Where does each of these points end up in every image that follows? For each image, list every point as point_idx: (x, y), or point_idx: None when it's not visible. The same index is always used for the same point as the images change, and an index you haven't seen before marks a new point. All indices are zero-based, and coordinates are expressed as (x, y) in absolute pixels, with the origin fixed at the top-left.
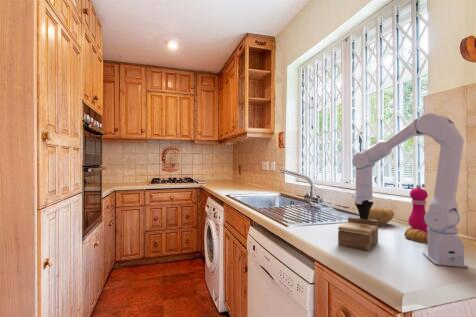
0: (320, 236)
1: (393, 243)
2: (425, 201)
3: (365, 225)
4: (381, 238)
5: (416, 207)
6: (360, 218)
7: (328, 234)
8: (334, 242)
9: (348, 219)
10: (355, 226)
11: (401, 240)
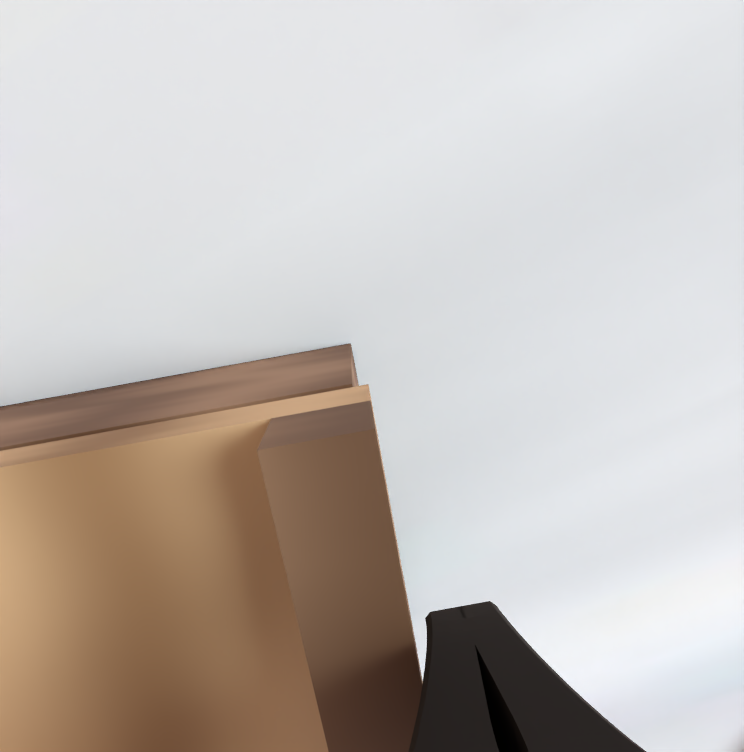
0: (75, 26)
1: None
2: None
3: (241, 745)
4: (603, 586)
5: None
6: (375, 671)
7: (267, 51)
8: (13, 322)
9: (264, 443)
10: (28, 684)
11: (669, 727)
